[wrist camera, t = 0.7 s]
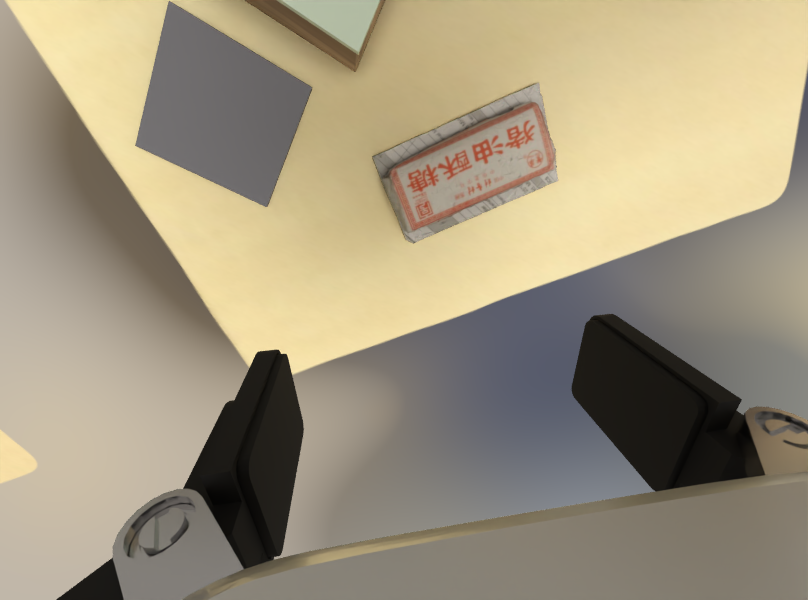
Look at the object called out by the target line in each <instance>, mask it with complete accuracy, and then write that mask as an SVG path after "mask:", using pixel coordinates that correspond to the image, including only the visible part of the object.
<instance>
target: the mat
mask: <svg viewBox="0 0 808 600" xmlns="http://www.w3.org/2000/svg"><path fill="white" fill-rule="evenodd" d="M311 90H312V87H310V86H309V85H307V84H305V83H304V82H302V81H300V80H299V79H297V78H295V77H294V76H292V75H291V74H289V73H287V72H286V71H284V70H282V69H281V68H279V67H277V66H276V65H274V64H272V63H271V62H269V61H267V60H266V59H264V58H262V57H261V56H259V55H258V54H256V53H254V52H253V51H251V50H249V49H248V48H246V47H244V46H243V45H241V44H239V43H238V42H236V41H234V40H233V39H231V38H229V37H228V36H226V35H225V34H223V33H221V32H220V31H218V30H216V29H215V28H213V27H211V26H210V25H208V24H206V23H205V22H203V21H201V20H200V19H198V18H196V17H195V16H193V15H191V14H190V13H188V12H187V11H185V10H183V9H182V8H180V7H178V6H177V5H175V4H173V3H172V2H170V1H169V2H168V7H167V11H166V15H165V20H164V24H163V28H162V33H161V37H160V41H159V46H158V50H157V54H156V59H155V63H154V67H153V72H152V76H151V80H150V85H149V89H148V93H147V98H146V102H145V106H144V111H143V115H142V119H141V124H140V128H139V132H138V137H137V141H136V145H135V146H137V147H139V148H142V149H144V150H146V151H148V152H150V153H152V154H154V155H156V156H159V157H161V158H163V159H165V160H167V161H169V162H171V163H174V164H176V165H178V166H180V167H182V168H184V169H186V170H188V171H191V172H193V173H195V174H197V175H199V176H201V177H203V178H206V179H208V180H210V181H212V182H214V183H216V184H218V185H220V186H223V187H225V188H227V189H229V190H231V191H233V192H235V193H237V194H240V195H242V196H244V197H246V198H248V199H250V200H252V201H255V202H257V203H259V204H261V205H263V206H265V207H267V206H268V204H269V201H270V198H271V196H272V193H273V191H274V188H275V185H276V183H277V180H278V177H279V175H280V172H281V169H282V167H283V164H284V162H285V159H286V156H287V154H288V151H289V148H290V146H291V143H292V140H293V138H294V135H295V133H296V130H297V127H298V125H299V122H300V119H301V117H302V114H303V111H304V109H305V106H306V104H307V101H308V98H309V96H310V93H311Z"/></svg>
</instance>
